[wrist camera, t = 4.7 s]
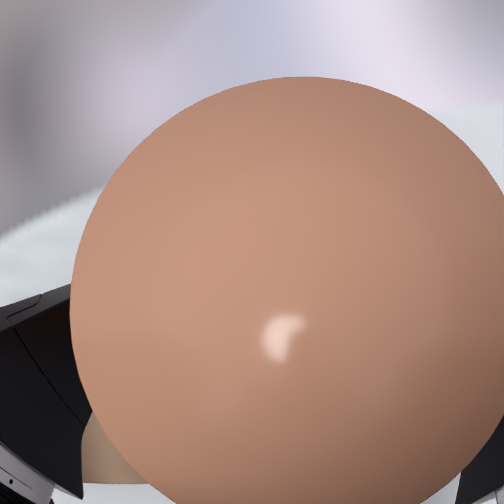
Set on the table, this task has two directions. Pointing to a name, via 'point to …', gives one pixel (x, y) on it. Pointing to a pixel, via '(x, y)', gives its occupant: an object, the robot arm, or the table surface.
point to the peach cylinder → (295, 300)
